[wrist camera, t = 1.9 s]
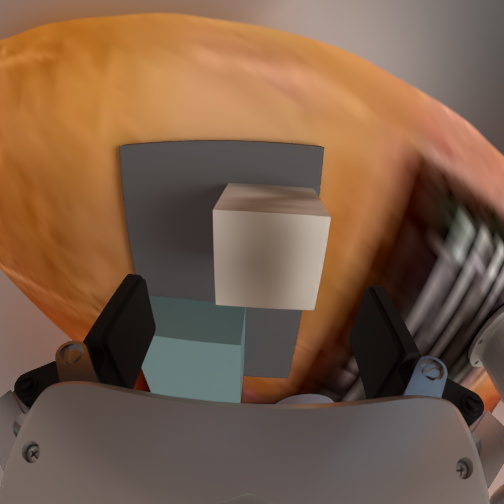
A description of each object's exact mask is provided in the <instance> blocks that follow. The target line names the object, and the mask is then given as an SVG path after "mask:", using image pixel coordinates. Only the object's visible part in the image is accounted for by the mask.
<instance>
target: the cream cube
mask: <svg viewBox="0 0 504 504" xmlns="http://www.w3.org/2000/svg"><path fill="white" fill-rule="evenodd" d="M330 220H331V216H330V215H329V213H328V211H327V210H326V208H325V206H324V205H323V203H322V201H321V200H320V198H319V197H318V195H317V193H316V192H315V190H314V189H313V188H305V187H292V186H278V185H261V184H239V183H228V185H227V187H226V188H225V190H224V192H223V193H222V195H221V197H220V198H219V200H218V202H217V204H216V205H215V207H214V209H213V245H214V275H215V299H216V305H225V306H238V307H254V308H271V309H294V310H314V308H315V304H316V299H317V294H318V289H319V284H320V279H321V274H322V268H323V263H324V257H325V251H326V245H327V239H328V233H329V227H330Z"/></svg>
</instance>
